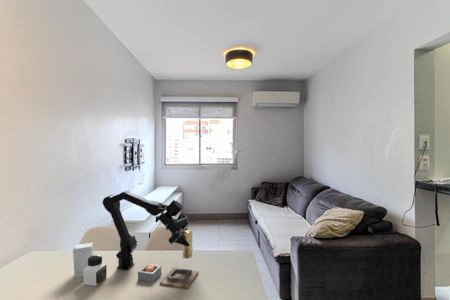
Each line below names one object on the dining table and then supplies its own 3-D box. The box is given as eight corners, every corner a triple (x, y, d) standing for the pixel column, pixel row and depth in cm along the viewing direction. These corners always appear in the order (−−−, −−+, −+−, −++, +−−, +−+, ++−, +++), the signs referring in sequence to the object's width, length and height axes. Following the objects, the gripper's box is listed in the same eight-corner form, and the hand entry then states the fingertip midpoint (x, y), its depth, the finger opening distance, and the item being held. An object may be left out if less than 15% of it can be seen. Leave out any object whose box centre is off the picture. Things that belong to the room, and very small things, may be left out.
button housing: (138, 280, 119) (137, 271, 119) (147, 271, 127) (146, 264, 127) (153, 282, 117) (153, 273, 117) (161, 273, 125) (161, 265, 125)
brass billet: (180, 257, 128) (180, 232, 128) (186, 253, 133) (186, 229, 132) (189, 259, 126) (189, 233, 126) (194, 255, 131) (194, 230, 130)
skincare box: (94, 270, 128) (94, 241, 128) (92, 276, 123) (92, 246, 122) (75, 273, 126) (75, 244, 125) (73, 279, 120) (72, 248, 120)
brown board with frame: (159, 284, 115) (159, 279, 115) (172, 269, 129) (172, 265, 129) (187, 288, 112) (187, 283, 112) (198, 273, 126) (198, 268, 126)
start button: (144, 275, 121) (144, 268, 121) (148, 270, 125) (148, 265, 125) (151, 276, 120) (151, 269, 120) (155, 271, 124) (155, 266, 124)
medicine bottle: (96, 286, 114) (96, 260, 113) (83, 284, 115) (82, 259, 115) (106, 278, 121) (106, 253, 120) (94, 276, 122) (93, 252, 122)
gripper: (175, 216, 120) (197, 240, 119) (184, 207, 139) (203, 227, 138) (159, 232, 121) (181, 255, 120) (170, 220, 139) (189, 240, 139)
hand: (190, 243), depth 129 cm, fingers closed on brass billet, 5 cm apart
